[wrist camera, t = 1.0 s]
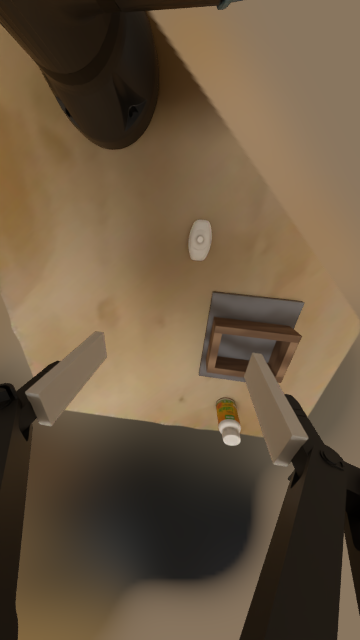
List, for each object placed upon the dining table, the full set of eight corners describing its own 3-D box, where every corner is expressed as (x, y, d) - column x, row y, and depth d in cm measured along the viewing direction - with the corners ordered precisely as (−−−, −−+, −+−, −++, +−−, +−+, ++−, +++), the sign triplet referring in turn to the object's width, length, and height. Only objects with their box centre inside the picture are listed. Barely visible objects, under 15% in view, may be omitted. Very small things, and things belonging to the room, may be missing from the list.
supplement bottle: (232, 395, 45) (240, 431, 37) (237, 408, 47) (246, 445, 38) (213, 399, 47) (216, 435, 38) (219, 412, 48) (224, 448, 40)
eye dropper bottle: (181, 248, 32) (172, 249, 21) (199, 220, 30) (199, 204, 19) (199, 262, 32) (200, 269, 21) (218, 235, 30) (229, 229, 19)
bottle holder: (212, 291, 34) (215, 299, 29) (301, 301, 33) (319, 310, 28) (198, 372, 43) (198, 389, 38) (268, 382, 42) (277, 400, 37)
